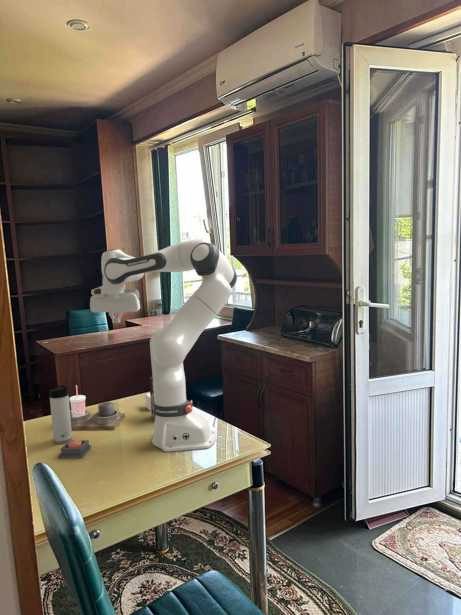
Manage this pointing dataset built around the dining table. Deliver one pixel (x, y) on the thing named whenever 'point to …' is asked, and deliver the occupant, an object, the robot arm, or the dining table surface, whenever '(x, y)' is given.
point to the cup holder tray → (98, 418)
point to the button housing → (75, 450)
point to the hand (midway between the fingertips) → (116, 322)
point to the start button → (75, 444)
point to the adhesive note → (148, 401)
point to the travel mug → (60, 414)
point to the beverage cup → (77, 404)
